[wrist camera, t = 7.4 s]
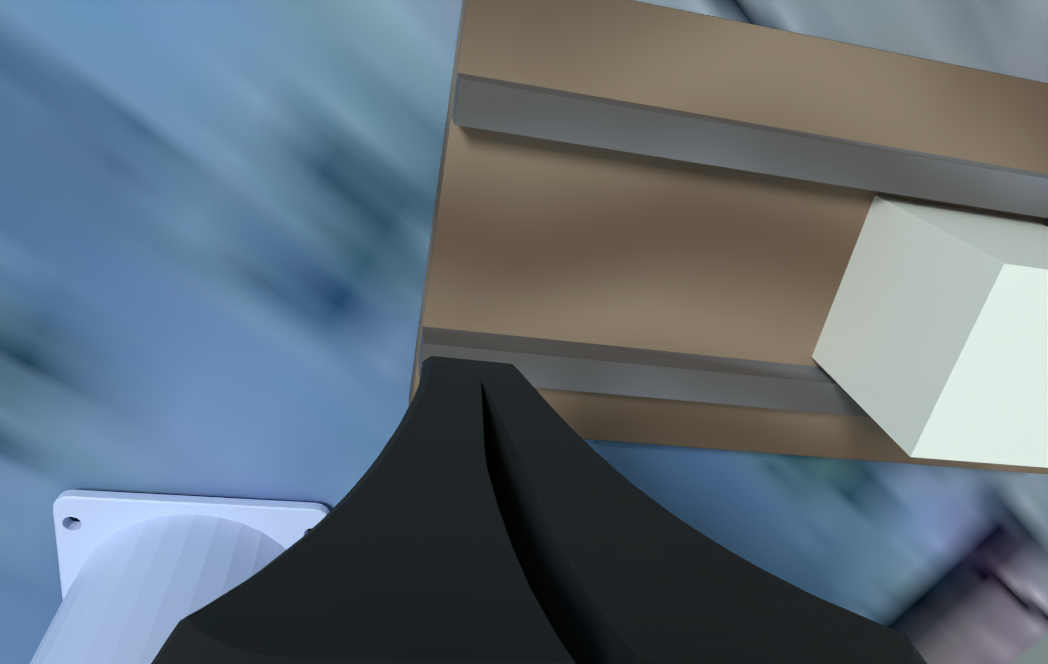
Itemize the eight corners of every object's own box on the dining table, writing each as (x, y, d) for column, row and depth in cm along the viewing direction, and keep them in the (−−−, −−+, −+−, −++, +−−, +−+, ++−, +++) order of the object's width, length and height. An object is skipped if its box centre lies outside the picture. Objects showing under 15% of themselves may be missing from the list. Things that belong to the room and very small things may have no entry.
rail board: (1018, 448, 27) (1122, 533, 23) (409, 398, 23) (409, 492, 19) (1204, 114, 22) (1377, 151, 18) (467, -33, 18) (483, -28, 14)
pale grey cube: (956, 372, 23) (1083, 470, 19) (811, 356, 22) (910, 457, 18) (1030, 219, 21) (1193, 290, 17) (875, 195, 20) (1004, 263, 16)
